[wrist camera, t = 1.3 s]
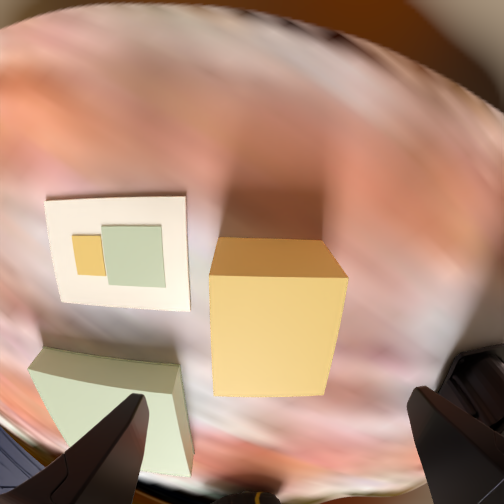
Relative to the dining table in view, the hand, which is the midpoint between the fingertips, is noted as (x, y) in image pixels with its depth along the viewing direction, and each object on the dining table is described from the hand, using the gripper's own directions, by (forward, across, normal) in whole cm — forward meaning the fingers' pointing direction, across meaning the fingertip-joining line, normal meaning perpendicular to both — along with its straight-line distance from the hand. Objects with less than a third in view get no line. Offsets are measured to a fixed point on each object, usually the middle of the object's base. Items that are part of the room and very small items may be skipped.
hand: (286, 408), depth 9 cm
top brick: (+8, 0, 0) cm, 8 cm away
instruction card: (+8, +8, -2) cm, 11 cm away
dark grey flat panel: (+8, +37, +26) cm, 46 cm away
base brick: (+8, +10, +10) cm, 16 cm away
